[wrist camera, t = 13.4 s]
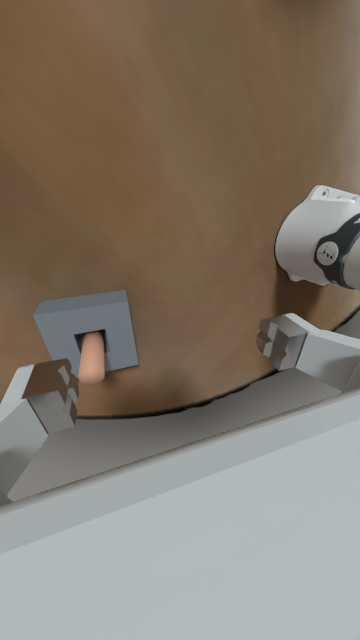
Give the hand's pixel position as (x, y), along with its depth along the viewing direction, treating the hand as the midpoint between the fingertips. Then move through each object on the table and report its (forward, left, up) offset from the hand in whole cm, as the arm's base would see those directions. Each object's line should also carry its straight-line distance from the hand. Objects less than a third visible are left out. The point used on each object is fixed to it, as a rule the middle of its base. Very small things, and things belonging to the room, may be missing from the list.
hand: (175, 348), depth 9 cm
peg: (+8, +17, -30) cm, 35 cm away
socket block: (+8, +17, -31) cm, 36 cm away
